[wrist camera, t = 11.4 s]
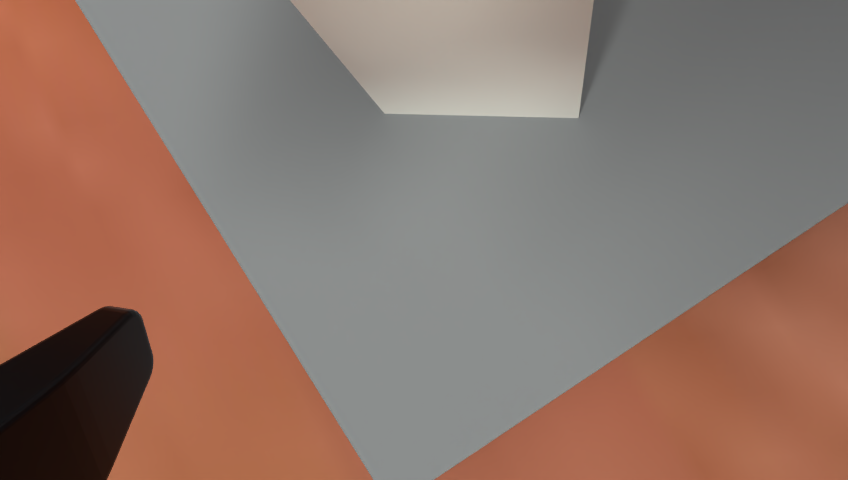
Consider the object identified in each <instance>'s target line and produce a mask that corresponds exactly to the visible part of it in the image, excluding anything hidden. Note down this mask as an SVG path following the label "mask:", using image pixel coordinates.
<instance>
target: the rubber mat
mask: <svg viewBox="0 0 848 480" xmlns="http://www.w3.org/2000/svg"><path fill="white" fill-rule="evenodd" d="M75 1H76V2H77V4H78V5H79V7H80V9H81V10H82V12H83V13H84V15H85V17H86V18H87V20H88V21H89V23H90V25H91V26H92V28H93V30H94V31H95V33H96V34H97V36H98V38H99V39H100V41H101V42H102V44H103V46H104V47H105V49H106V50H107V52H108V54H109V55H110V57H111V58H112V60H113V62H114V63H115V65H116V67H117V68H118V70H119V71H120V73H121V75H122V76H123V78H124V79H125V81H126V83H127V84H128V86H129V87H130V89H131V91H132V92H133V94H134V95H135V97H136V99H137V100H138V102H139V104H140V105H141V107H142V108H143V110H144V112H145V113H146V115H147V116H148V118H149V120H150V121H151V123H152V124H153V126H154V128H155V129H156V131H157V132H158V134H159V136H160V137H161V139H162V140H163V142H164V144H165V145H166V147H167V149H168V150H169V152H170V153H171V155H172V157H173V158H174V160H175V161H176V163H177V165H178V166H179V168H180V169H181V171H182V173H183V174H184V176H185V177H186V179H187V181H188V182H189V184H190V186H191V187H192V189H193V190H194V192H195V194H196V195H197V197H198V198H199V200H200V202H201V203H202V205H203V206H204V208H205V210H206V211H207V213H208V214H209V216H210V218H211V219H212V221H213V223H214V224H215V226H216V227H217V229H218V231H219V232H220V234H221V235H222V237H223V239H224V240H225V242H226V243H227V245H228V247H229V248H230V250H231V251H232V253H233V255H234V256H235V258H236V259H237V261H238V263H239V264H240V266H241V268H242V269H243V271H244V272H245V274H246V276H247V277H248V279H249V280H250V282H251V284H252V285H253V287H254V288H255V290H256V292H257V293H258V295H259V296H260V298H261V300H262V301H263V303H264V305H265V306H266V308H267V309H268V311H269V313H270V314H271V316H272V317H273V319H274V321H275V322H276V324H277V325H278V327H279V329H280V330H281V332H282V333H283V335H284V337H285V338H286V340H287V341H288V343H289V345H290V346H291V348H292V350H293V351H294V353H295V354H296V356H297V358H298V359H299V361H300V362H301V364H302V366H303V367H304V369H305V370H306V372H307V374H308V375H309V377H310V378H311V380H312V382H313V383H314V385H315V387H316V388H317V390H318V391H319V393H320V395H321V396H322V398H323V399H324V401H325V403H326V404H327V406H328V407H329V409H330V411H331V412H332V414H333V415H334V417H335V419H336V420H337V422H338V424H339V425H340V427H341V428H342V430H343V432H344V433H345V435H346V436H347V438H348V440H349V441H350V443H351V444H352V446H353V448H354V449H355V451H356V452H357V454H358V456H359V457H360V459H361V460H362V462H363V464H364V465H365V467H366V469H367V470H368V472H369V473H370V475H371V477H372V478H373V480H434V479H436V478H437V477H439V476H440V475H441V474H443V473H444V472H446V471H447V470H449V469H450V468H452V467H453V466H455V465H456V464H458V463H459V462H461V461H462V460H464V459H465V458H467V457H468V456H470V455H471V454H473V453H474V452H476V451H477V450H479V449H480V448H482V447H483V446H485V445H486V444H488V443H489V442H491V441H492V440H494V439H495V438H497V437H498V436H500V435H501V434H503V433H504V432H506V431H507V430H509V429H510V428H512V427H513V426H515V425H516V424H518V423H519V422H521V421H522V420H524V419H525V418H527V417H528V416H530V415H531V414H533V413H534V412H536V411H537V410H539V409H540V408H542V407H543V406H545V405H546V404H548V403H549V402H551V401H552V400H554V399H555V398H557V397H558V396H560V395H561V394H563V393H564V392H566V391H567V390H569V389H570V388H572V387H573V386H575V385H576V384H578V383H579V382H581V381H582V380H584V379H585V378H587V377H588V376H590V375H591V374H593V373H594V372H596V371H597V370H599V369H600V368H602V367H603V366H605V365H606V364H608V363H609V362H611V361H612V360H614V359H615V358H617V357H618V356H620V355H621V354H623V353H624V352H625V351H627V350H628V349H630V348H631V347H633V346H634V345H636V344H637V343H639V342H640V341H642V340H643V339H645V338H646V337H648V336H649V335H651V334H652V333H654V332H655V331H657V330H658V329H660V328H661V327H663V326H664V325H666V324H667V323H669V322H670V321H672V320H673V319H675V318H676V317H678V316H679V315H681V314H682V313H684V312H685V311H687V310H688V309H690V308H691V307H693V306H694V305H696V304H697V303H699V302H700V301H702V300H703V299H705V298H706V297H708V296H709V295H711V294H712V293H714V292H715V291H717V290H718V289H720V288H721V287H723V286H724V285H726V284H727V283H729V282H730V281H732V280H733V279H735V278H736V277H738V276H739V275H741V274H742V273H744V272H745V271H747V270H748V269H750V268H751V267H753V266H754V265H756V264H757V263H759V262H760V261H762V260H763V259H765V258H766V257H768V256H769V255H771V254H772V253H774V252H775V251H777V250H778V249H780V248H781V247H783V246H784V245H786V244H787V243H789V242H790V241H792V240H793V239H795V238H796V237H798V236H799V235H801V234H802V233H804V232H805V231H807V230H808V229H809V228H811V227H812V226H814V225H815V224H817V223H818V222H820V221H821V220H823V219H824V218H826V217H827V216H829V215H830V214H832V213H833V212H835V211H836V210H838V209H839V208H841V207H842V206H844V205H845V204H847V203H848V0H594V3H593V10H592V18H591V26H590V34H589V41H588V49H587V57H586V64H585V72H584V80H583V88H582V95H581V103H580V111H579V118H548V117H505V116H462V115H418V114H384V112H383V111H382V110H381V109H380V108H379V106H378V105H377V104H376V103H375V102H374V100H373V99H372V98H371V97H370V96H369V94H368V93H367V92H366V91H365V90H364V88H363V87H362V86H361V85H360V84H359V82H358V81H357V80H356V79H355V78H354V76H353V75H352V74H351V73H350V72H349V70H348V69H347V68H346V67H345V66H344V64H343V63H342V62H341V61H340V60H339V58H338V57H337V56H336V55H335V54H334V52H333V51H332V50H331V49H330V48H329V46H328V45H327V44H326V43H325V42H324V40H323V39H322V38H321V37H320V36H319V34H318V33H317V32H316V31H315V30H314V28H313V27H312V26H311V25H310V24H309V22H308V21H307V20H306V19H305V18H304V16H303V15H302V14H301V13H300V12H299V10H298V9H297V8H296V7H295V6H294V4H293V3H292V2H291V1H290V0H75Z"/></svg>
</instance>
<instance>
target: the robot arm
mask: <svg viewBox="0 0 848 480" xmlns="http://www.w3.org/2000/svg"><path fill="white" fill-rule="evenodd" d="M152 369H153V354H152V350H151V347H150V343H149V340H148V337H147V333H146V330H145V326H144V323H143V319H142V317H141V315H140V314H139V313H138V312H137V311H135V310H132V309H126V308H119V307H113V306H106V307H102V308H100V309H98V310H96V311H95V312H93V313H91V314H89V315H87V316H86V317H84V318H82V319H80V320H79V321H77V322H75V323H73V324H71V325H70V326H68V327H66V328H64V329H63V330H61V331H59V332H57V333H56V334H54V335H52V336H50V337H48V338H47V339H45V340H43V341H41V342H40V343H38V344H36V345H34V346H32V347H31V348H29V349H27V350H25V351H24V352H22V353H20V354H18V355H17V356H15V357H13V358H11V359H9V360H8V361H6V362H4V363H2V364H1V365H0V480H107V478H108V476H109V474H110V472H111V469H112V467H113V465H114V462H115V460H116V458H117V455H118V453H119V450H120V448H121V446H122V443H123V441H124V439H125V436H126V434H127V431H128V429H129V427H130V424H131V422H132V419H133V417H134V415H135V412H136V410H137V407H138V405H139V403H140V400H141V398H142V395H143V393H144V391H145V388H146V386H147V384H148V381H149V379H150V376H151V373H152Z"/></svg>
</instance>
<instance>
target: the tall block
mask: <svg viewBox="0 0 848 480" xmlns="http://www.w3.org/2000/svg"><path fill="white" fill-rule="evenodd" d="M290 1H291V2H292V3H293V4H294V6H295V7H296V8H297V9H298V10H299V12H300V13H301V14H302V15H303V16H304V18H305V19H306V20H307V21H308V22H309V24H310V25H311V26H312V27H313V28H314V30H315V31H316V32H317V33H318V34H319V36H320V37H321V38H322V39H323V40H324V42H325V43H326V44H327V45H328V46H329V48H330V49H331V50H332V51H333V52H334V54H335V55H336V56H337V57H338V58H339V60H340V61H341V62H342V63H343V64H344V66H345V67H346V68H347V69H348V70H349V72H350V73H351V74H352V75H353V76H354V78H355V79H356V80H357V81H358V82H359V84H360V85H361V86H362V87H363V88H364V90H365V91H366V92H367V93H368V94H369V96H370V97H371V98H372V99H373V100H374V102H375V103H376V104H377V105H378V106H379V108H380V109H381V110H382V111H383V112H384V114H418V115H462V116H505V117H548V118H579V111H580V103H581V95H582V88H583V80H584V72H585V64H586V57H587V49H588V41H589V34H590V26H591V18H592V10H593V3H594V0H290Z"/></svg>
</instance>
